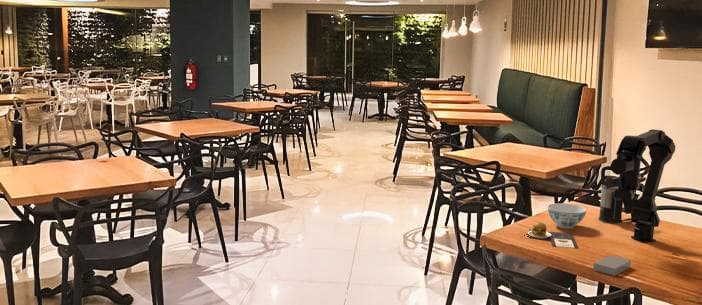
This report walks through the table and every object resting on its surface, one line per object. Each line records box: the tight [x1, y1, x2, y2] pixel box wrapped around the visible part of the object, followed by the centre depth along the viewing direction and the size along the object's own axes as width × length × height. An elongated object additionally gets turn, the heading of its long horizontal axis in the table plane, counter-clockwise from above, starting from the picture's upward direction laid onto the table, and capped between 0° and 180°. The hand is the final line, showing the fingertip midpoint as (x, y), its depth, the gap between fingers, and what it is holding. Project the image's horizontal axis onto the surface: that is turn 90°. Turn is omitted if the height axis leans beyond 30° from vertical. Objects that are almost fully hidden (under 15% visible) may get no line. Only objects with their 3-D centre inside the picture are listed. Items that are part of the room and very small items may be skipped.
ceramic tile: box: [592, 254, 632, 277], centre depth 211 cm, size 3×7×12 cm
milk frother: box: [598, 184, 631, 224], centre depth 267 cm, size 14×16×15 cm
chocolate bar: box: [547, 231, 579, 249], centre depth 242 cm, size 9×1×18 cm
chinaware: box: [547, 202, 587, 230], centre depth 259 cm, size 15×15×8 cm
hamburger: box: [524, 221, 551, 243], centre depth 247 cm, size 12×12×6 cm
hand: (627, 213), depth 231 cm, fingers closed
